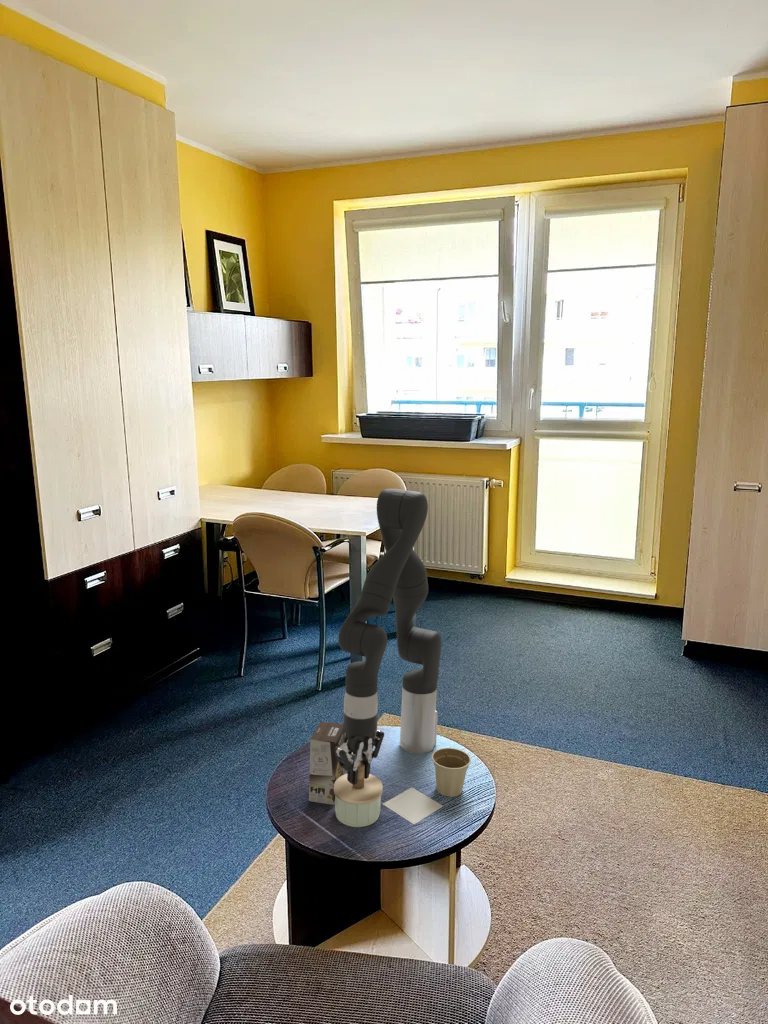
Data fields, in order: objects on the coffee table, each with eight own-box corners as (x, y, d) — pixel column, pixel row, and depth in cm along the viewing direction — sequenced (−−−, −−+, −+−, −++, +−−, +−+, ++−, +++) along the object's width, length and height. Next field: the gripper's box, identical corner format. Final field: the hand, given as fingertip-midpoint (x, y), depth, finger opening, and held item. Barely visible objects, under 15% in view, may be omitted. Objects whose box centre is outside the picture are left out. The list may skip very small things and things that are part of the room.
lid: (392, 790, 157) (393, 766, 156) (356, 811, 150) (357, 786, 149) (359, 770, 165) (360, 747, 164) (323, 788, 157) (324, 764, 156)
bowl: (358, 795, 165) (359, 772, 164) (388, 815, 159) (389, 791, 157) (326, 813, 158) (327, 789, 157) (356, 834, 152) (357, 809, 150)
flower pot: (442, 774, 175) (444, 743, 174) (475, 788, 170) (477, 756, 168) (422, 791, 168) (424, 759, 166) (456, 806, 163) (458, 773, 161)
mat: (411, 788, 169) (411, 787, 169) (443, 807, 162) (443, 805, 162) (382, 805, 162) (382, 804, 162) (413, 826, 155) (414, 824, 155)
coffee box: (334, 806, 161) (336, 742, 158) (308, 802, 162) (308, 738, 159) (344, 784, 170) (346, 723, 167) (319, 780, 171) (320, 720, 168)
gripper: (348, 726, 146) (346, 800, 149) (395, 705, 156) (392, 775, 159) (325, 713, 151) (323, 784, 155) (371, 694, 161) (369, 761, 164)
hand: (358, 779), depth 157 cm, fingers open, 3 cm apart
